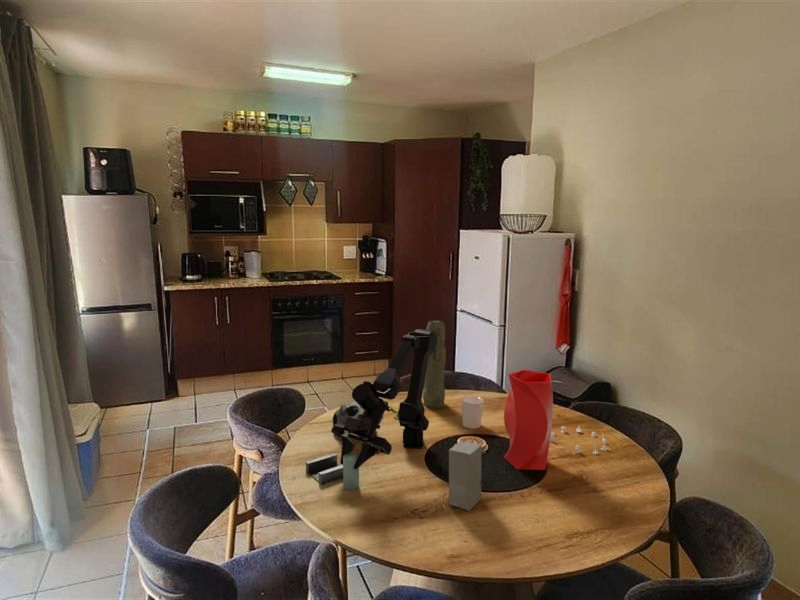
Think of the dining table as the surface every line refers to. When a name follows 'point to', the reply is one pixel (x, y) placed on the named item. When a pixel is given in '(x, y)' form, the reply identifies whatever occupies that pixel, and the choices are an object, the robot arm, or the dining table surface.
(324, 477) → the rail dock
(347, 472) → the teal peg
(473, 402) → the white cup
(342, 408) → the lucky cat figurine
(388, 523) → the dining table surface
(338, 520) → the dining table surface
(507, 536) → the dining table surface
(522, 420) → the vase
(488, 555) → the dining table surface
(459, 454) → the skincare box
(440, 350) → the grey green tall pillar
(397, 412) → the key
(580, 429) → the game piece set
